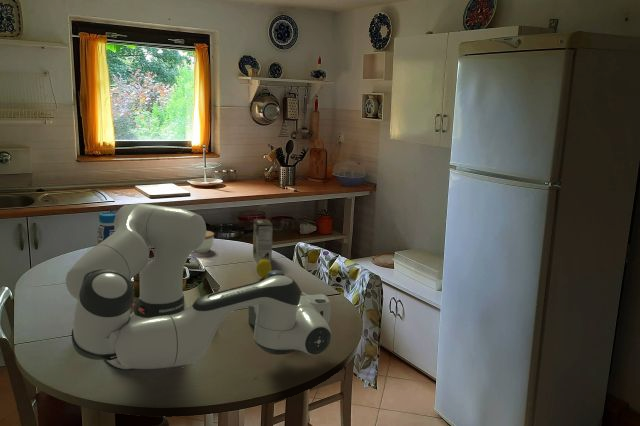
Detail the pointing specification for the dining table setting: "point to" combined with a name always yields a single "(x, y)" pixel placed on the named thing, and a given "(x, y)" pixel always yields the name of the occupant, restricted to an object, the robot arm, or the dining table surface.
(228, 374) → the dining table surface
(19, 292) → the dining table surface
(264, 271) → the lemon
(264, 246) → the coffee box
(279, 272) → the dark grey cylinder
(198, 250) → the lidded jar
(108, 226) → the blue cylindrical canister
